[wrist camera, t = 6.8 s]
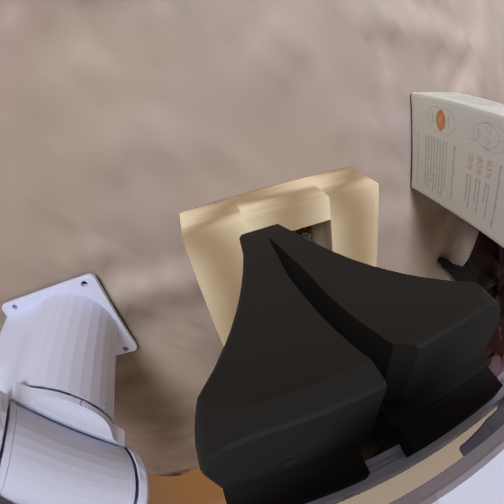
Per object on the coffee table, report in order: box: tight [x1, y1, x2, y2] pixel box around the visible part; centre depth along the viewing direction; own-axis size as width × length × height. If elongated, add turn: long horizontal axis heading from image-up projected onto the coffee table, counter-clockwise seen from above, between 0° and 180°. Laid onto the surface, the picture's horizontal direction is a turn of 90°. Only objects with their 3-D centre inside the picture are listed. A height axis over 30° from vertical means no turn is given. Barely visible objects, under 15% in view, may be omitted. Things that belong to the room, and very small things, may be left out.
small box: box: [411, 92, 504, 248], centre depth 16 cm, size 8×6×13 cm
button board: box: [179, 167, 379, 347], centre depth 25 cm, size 12×24×4 cm, turn 11°
